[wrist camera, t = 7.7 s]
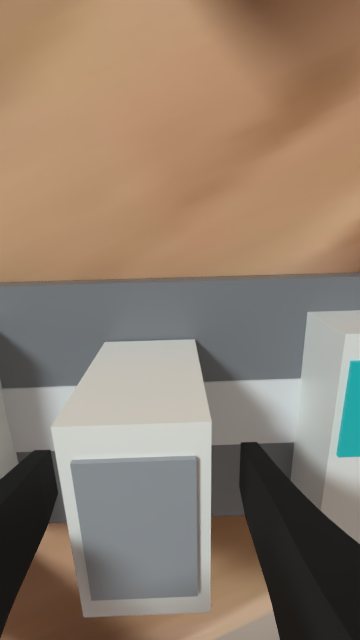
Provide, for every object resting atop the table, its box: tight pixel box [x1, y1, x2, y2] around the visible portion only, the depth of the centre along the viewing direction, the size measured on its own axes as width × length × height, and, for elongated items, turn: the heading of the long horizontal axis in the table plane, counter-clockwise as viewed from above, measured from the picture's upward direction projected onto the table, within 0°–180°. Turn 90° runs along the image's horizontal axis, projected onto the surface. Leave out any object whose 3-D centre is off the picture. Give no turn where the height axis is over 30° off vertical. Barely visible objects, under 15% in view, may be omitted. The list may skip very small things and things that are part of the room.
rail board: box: [0, 273, 360, 544], centre depth 13 cm, size 22×13×4 cm, turn 91°
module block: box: [51, 339, 212, 617], centre depth 11 cm, size 4×7×6 cm, turn 1°
